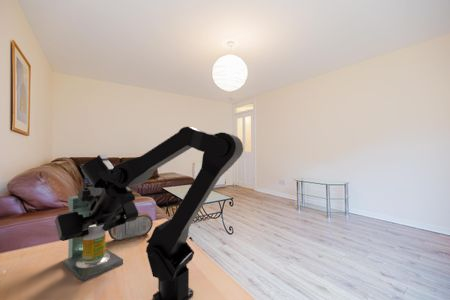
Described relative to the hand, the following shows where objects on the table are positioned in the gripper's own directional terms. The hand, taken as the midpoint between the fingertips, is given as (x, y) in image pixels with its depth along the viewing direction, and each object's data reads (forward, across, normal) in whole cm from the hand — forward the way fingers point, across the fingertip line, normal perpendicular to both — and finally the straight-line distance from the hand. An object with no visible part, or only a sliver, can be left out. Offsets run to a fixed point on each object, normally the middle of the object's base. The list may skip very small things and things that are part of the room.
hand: (92, 233), depth 57 cm
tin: (+11, -16, +1) cm, 19 cm away
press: (+9, 0, +3) cm, 9 cm away
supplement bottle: (+4, 0, +6) cm, 7 cm away
